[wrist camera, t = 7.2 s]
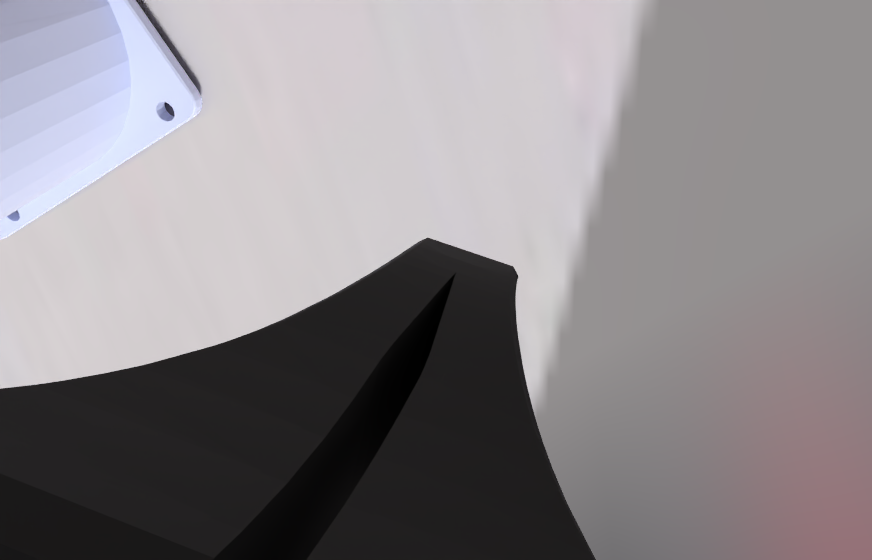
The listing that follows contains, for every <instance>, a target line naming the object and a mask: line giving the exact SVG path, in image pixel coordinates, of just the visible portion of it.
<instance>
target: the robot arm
mask: <svg viewBox="0 0 872 560" xmlns="http://www.w3.org/2000/svg"><path fill="white" fill-rule="evenodd" d="M165 102H166V103H168V104H169V105H171V106H172V108H173V110H174V116H172V115H170V114H169V113H168V112H167V111H166V109H165ZM201 108H202V97H201V95H200V93H199V91H198V90H197V88H196V87H195V85H194V84H193V82H192V81H191V79H190V78H189V77H188V75H187V74H186V72H185V71H184V69H183V68H182V66H181V65H180V64H179V62H178V61H177V59H176V58H175V56H174V55H173V53H172V52H171V51H170V49H169V48H168V46H167V45H166V43H165V42H164V40H163V39H162V38H161V36H160V35H159V33H158V32H157V30H156V29H155V27H154V26H153V25H152V23H151V22H150V20H149V19H148V17H147V16H146V14H145V13H144V12H143V10H142V9H141V7H140V6H139V4H138V3H137V1H136V0H0V239H5V238H7V237H8V236H10V235H11V234H13V233H14V232H16V231H18V230H19V229H21V228H22V227H24V226H25V225H27V224H28V223H30V222H32V221H33V220H35V219H36V218H38V217H39V216H41V215H42V214H44V213H46V212H47V211H49V210H50V209H52V208H53V207H55V206H56V205H58V204H60V203H61V202H63V201H64V200H66V199H67V198H69V197H70V196H72V195H74V194H75V193H77V192H78V191H80V190H81V189H83V188H84V187H86V186H88V185H89V184H91V183H92V182H94V181H95V180H97V179H98V178H100V177H102V176H103V175H105V174H106V173H108V172H109V171H111V170H112V169H114V168H116V167H117V166H119V165H120V164H122V163H123V162H125V161H127V160H128V159H130V158H131V157H133V156H134V155H136V154H137V153H139V152H141V151H142V150H144V149H145V148H147V147H148V146H150V145H151V144H153V143H155V142H156V141H158V140H159V139H161V138H162V137H164V136H165V135H167V134H169V133H170V132H172V131H173V130H175V129H176V128H178V127H179V126H181V125H183V124H184V123H186V122H187V121H189V120H190V119H192V118H193V117H195V116H197V115H198V113H199V112H200V111H201ZM16 210H17V211H18V212H19V213H17V212H16ZM517 279H518V275H517V273H516V271H515V269H514V267H513V266H510V265H507V264H504V263H501V262H498V261H495V260H492V259H489V258H486V257H483V256H480V255H477V254H474V253H471V252H468V251H466V250H463V249H460V248H457V247H454V246H451V245H448V244H445V243H442V242H439V241H436V240H433V239H430V238H426V239H424V240H422V241H420V242H418V243H416V244H415V245H413V246H412V247H410V248H409V249H407V250H406V251H404V252H403V253H401V254H400V255H398V256H397V257H395V258H394V259H392V260H391V261H389V262H388V263H386V264H385V265H383V266H381V267H380V268H378V269H377V270H375V271H373V272H372V273H370V274H368V275H367V276H365V277H363V278H361V279H360V280H358V281H356V282H355V283H353V284H351V285H349V286H348V287H346V288H344V289H342V290H341V291H339V292H337V293H335V294H334V295H332V296H330V297H328V298H326V299H324V300H322V301H320V302H318V303H316V304H314V305H312V306H310V307H308V308H306V309H304V310H302V311H300V312H298V313H296V314H294V315H291V316H289V317H287V318H285V319H283V320H281V321H278V322H276V323H274V324H271V325H269V326H267V327H265V328H262V329H260V330H257V331H255V332H252V333H249V334H247V335H244V336H241V337H238V338H236V339H233V340H230V341H227V342H224V343H221V344H218V345H215V346H212V347H208V348H204V349H201V350H197V351H194V352H190V353H186V354H183V355H179V356H176V357H172V358H168V359H165V360H161V361H158V362H154V363H151V364H146V365H142V366H138V367H133V368H128V369H123V370H119V371H114V372H109V373H105V374H99V375H93V376H88V377H82V378H76V379H71V380H65V381H59V382H52V383H45V384H39V385H31V386H22V387H13V388H4V389H0V560H596V559H595V557H594V555H593V553H592V551H591V550H590V548H589V546H588V544H587V542H586V540H585V538H584V536H583V534H582V532H581V530H580V528H579V526H578V524H577V522H576V520H575V518H574V516H573V515H572V512H571V510H570V508H569V506H568V504H567V502H566V500H565V497H564V495H563V493H562V490H561V488H560V486H559V483H558V481H557V478H556V476H555V474H554V471H553V469H552V466H551V463H550V461H549V458H548V455H547V453H546V450H545V447H544V444H543V442H542V438H541V435H540V432H539V429H538V426H537V422H536V419H535V416H534V412H533V408H532V404H531V401H530V397H529V393H528V389H527V385H526V380H525V375H524V370H523V365H522V359H521V353H520V347H519V340H518V333H517V324H516V308H515V295H516V284H517Z"/></svg>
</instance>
